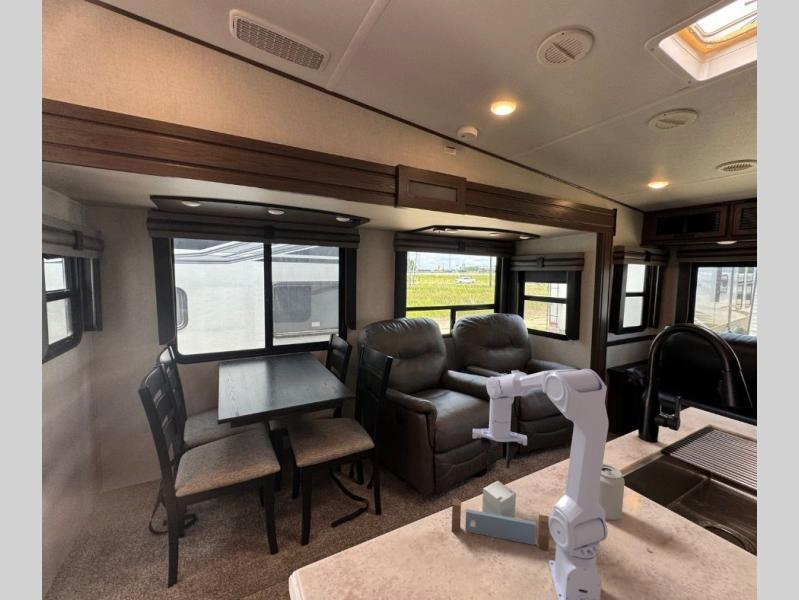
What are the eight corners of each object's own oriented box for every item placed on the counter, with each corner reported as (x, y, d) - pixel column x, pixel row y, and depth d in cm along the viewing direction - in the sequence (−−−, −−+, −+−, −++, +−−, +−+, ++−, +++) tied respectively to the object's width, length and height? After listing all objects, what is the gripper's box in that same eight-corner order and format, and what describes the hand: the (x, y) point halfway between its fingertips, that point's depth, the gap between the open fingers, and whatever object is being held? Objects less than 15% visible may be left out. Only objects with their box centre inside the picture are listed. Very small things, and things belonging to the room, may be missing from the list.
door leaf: (535, 548, 74) (537, 528, 73) (465, 534, 78) (465, 514, 77) (534, 541, 76) (535, 521, 75) (465, 527, 80) (466, 508, 79)
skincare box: (496, 504, 88) (497, 479, 87) (515, 519, 83) (516, 492, 82) (481, 514, 85) (482, 487, 84) (500, 529, 80) (501, 501, 79)
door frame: (548, 550, 74) (550, 522, 73) (451, 531, 79) (452, 504, 78) (546, 543, 76) (548, 516, 75) (452, 525, 81) (453, 499, 80)
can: (611, 503, 89) (614, 462, 88) (627, 524, 82) (631, 479, 81) (583, 500, 90) (586, 460, 89) (597, 521, 83) (600, 477, 82)
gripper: (525, 415, 92) (523, 460, 93) (473, 409, 95) (471, 453, 96) (529, 426, 85) (526, 475, 86) (473, 420, 88) (471, 466, 90)
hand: (497, 464), depth 91 cm, fingers open, 4 cm apart
